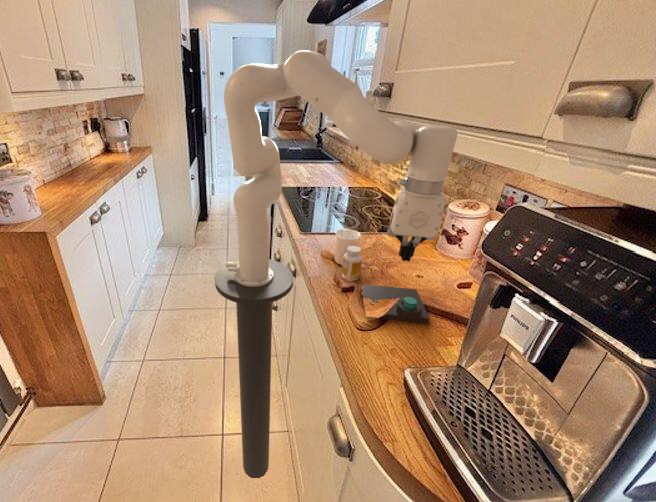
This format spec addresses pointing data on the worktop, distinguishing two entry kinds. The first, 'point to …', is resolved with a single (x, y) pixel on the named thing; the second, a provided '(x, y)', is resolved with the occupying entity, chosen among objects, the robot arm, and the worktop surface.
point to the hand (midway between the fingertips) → (404, 258)
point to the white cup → (345, 242)
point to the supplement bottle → (352, 263)
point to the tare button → (410, 303)
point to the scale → (398, 310)
